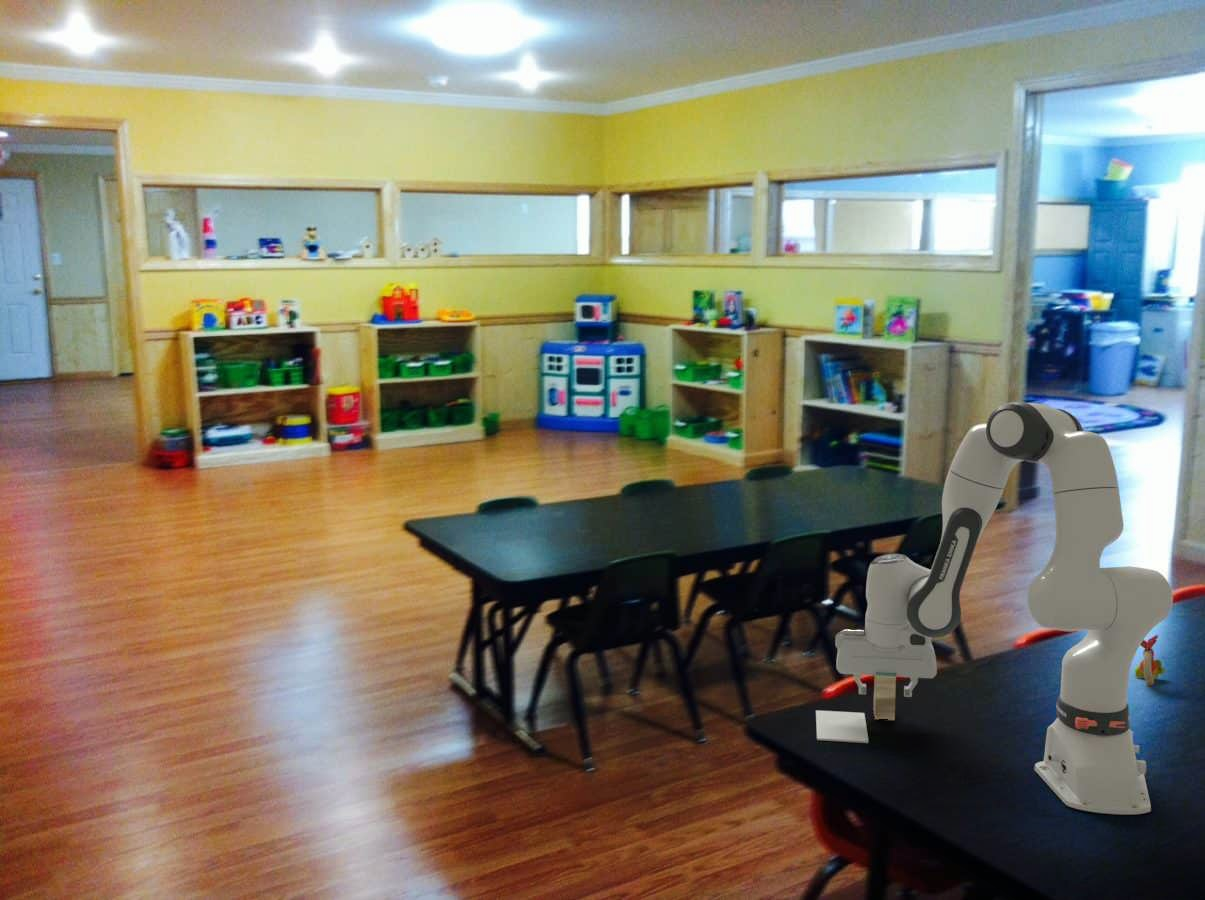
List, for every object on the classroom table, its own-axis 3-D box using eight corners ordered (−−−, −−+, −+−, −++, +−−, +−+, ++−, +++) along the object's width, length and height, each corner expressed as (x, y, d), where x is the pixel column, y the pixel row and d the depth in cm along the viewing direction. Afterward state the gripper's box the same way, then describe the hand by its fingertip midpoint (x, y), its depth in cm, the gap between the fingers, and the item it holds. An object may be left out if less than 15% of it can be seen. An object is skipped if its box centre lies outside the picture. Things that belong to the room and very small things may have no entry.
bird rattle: (1164, 696, 242) (1165, 668, 248) (1168, 659, 236) (1168, 631, 243) (1133, 692, 244) (1134, 664, 251) (1136, 655, 239) (1137, 628, 245)
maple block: (894, 720, 226) (896, 674, 225) (874, 719, 227) (876, 673, 225) (892, 712, 230) (894, 667, 228) (873, 711, 231) (874, 666, 229)
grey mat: (868, 743, 216) (868, 741, 216) (816, 740, 217) (816, 738, 217) (864, 714, 229) (864, 712, 229) (815, 712, 231) (815, 710, 231)
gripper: (835, 634, 225) (834, 697, 227) (939, 638, 221) (936, 703, 223) (835, 624, 231) (833, 686, 233) (935, 628, 227) (933, 691, 229)
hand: (885, 694), depth 228 cm, fingers open, 8 cm apart
